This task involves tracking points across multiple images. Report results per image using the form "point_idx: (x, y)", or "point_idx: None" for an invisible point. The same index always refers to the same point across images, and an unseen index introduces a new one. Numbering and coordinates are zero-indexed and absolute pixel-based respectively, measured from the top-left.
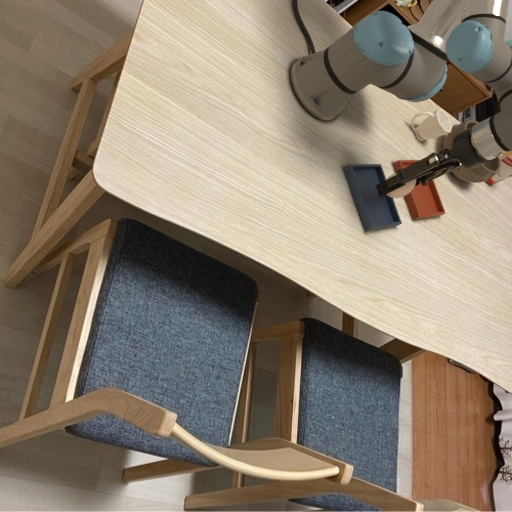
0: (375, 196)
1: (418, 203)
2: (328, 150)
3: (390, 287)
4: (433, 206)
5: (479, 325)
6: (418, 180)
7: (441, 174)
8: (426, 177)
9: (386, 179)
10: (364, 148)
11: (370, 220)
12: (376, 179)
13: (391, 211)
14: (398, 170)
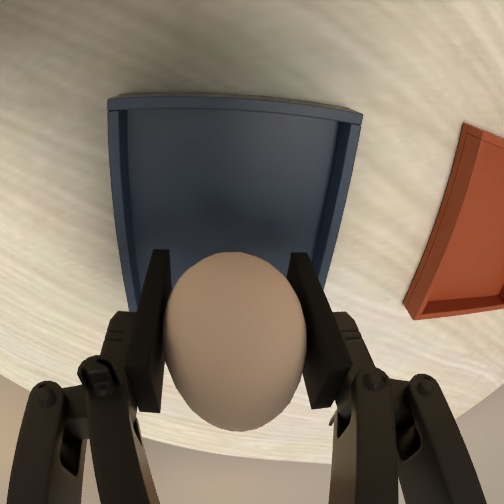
0: (254, 228)
1: (460, 268)
2: (70, 24)
3: (182, 408)
4: (498, 279)
5: None
6: (331, 395)
7: (405, 501)
8: (335, 452)
9: (196, 263)
10: (339, 18)
11: None
12: (313, 163)
13: None
14: (80, 375)
